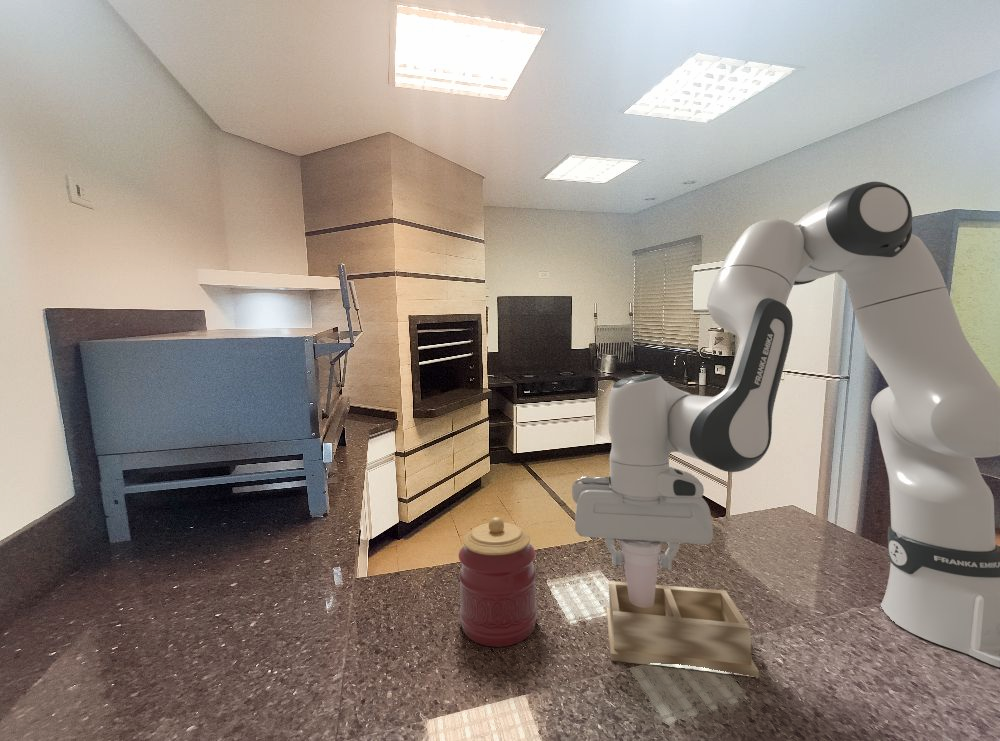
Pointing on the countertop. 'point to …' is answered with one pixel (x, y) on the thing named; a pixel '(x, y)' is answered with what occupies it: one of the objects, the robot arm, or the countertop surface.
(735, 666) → the wooden divided tray
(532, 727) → the countertop surface
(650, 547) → the smoothie
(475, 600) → the canister
